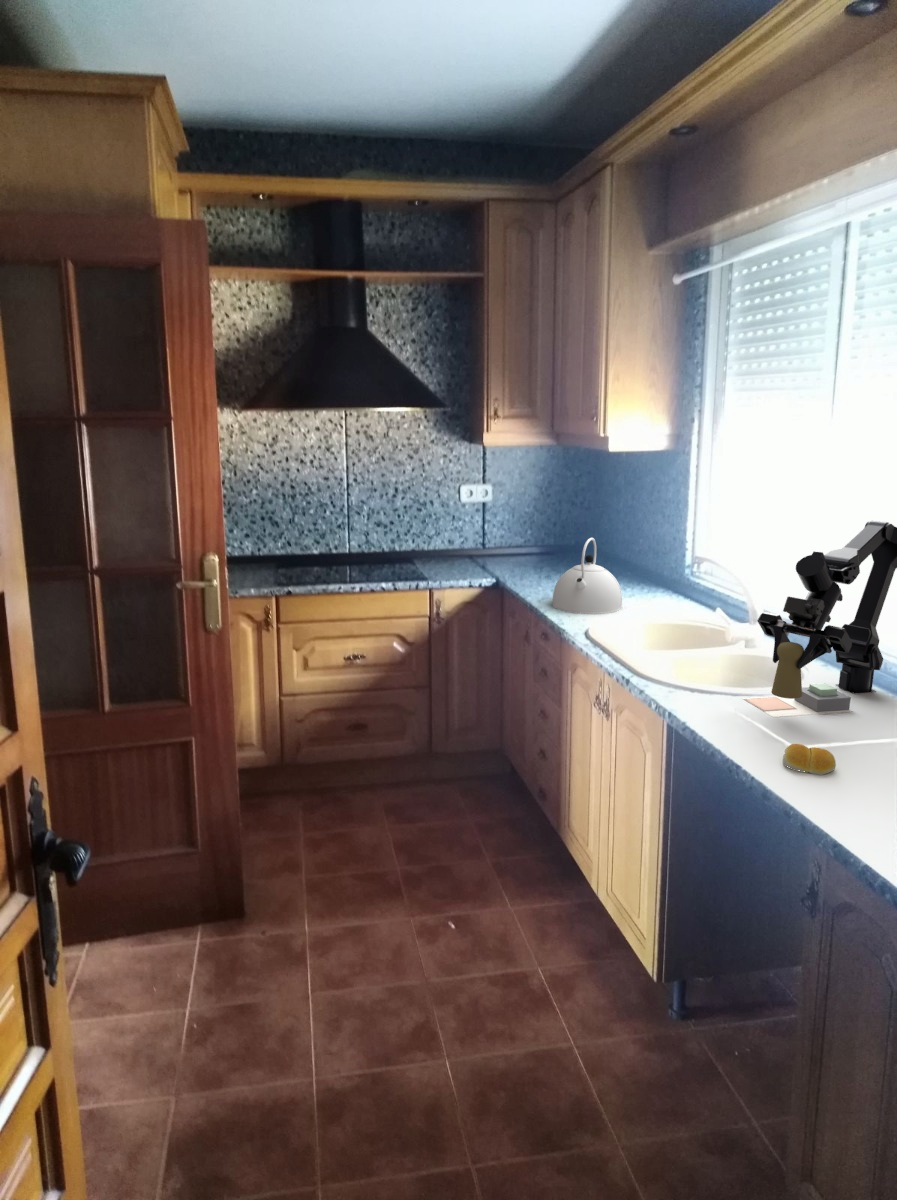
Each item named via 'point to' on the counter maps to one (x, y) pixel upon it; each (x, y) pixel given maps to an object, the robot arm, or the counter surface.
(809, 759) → the bread roll
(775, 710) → the picture board
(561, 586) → the kettle
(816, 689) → the button
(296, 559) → the counter surface
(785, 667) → the cork
